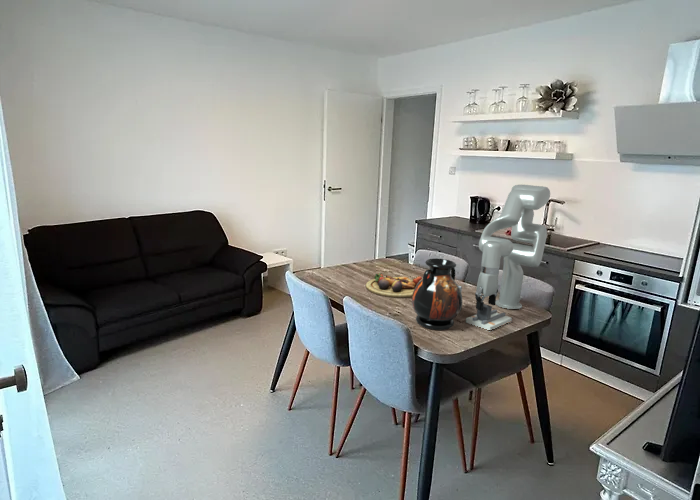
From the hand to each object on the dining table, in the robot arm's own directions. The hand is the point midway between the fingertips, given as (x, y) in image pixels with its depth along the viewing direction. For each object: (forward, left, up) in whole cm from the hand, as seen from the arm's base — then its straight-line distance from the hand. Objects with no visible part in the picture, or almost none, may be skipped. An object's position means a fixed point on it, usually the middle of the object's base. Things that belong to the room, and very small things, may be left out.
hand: (485, 307), depth 188 cm
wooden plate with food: (-3, -56, -9) cm, 57 cm away
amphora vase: (+18, -13, -8) cm, 24 cm away
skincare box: (-2, -18, -8) cm, 20 cm away
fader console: (-4, 0, -8) cm, 9 cm away
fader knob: (+1, 0, -6) cm, 6 cm away
